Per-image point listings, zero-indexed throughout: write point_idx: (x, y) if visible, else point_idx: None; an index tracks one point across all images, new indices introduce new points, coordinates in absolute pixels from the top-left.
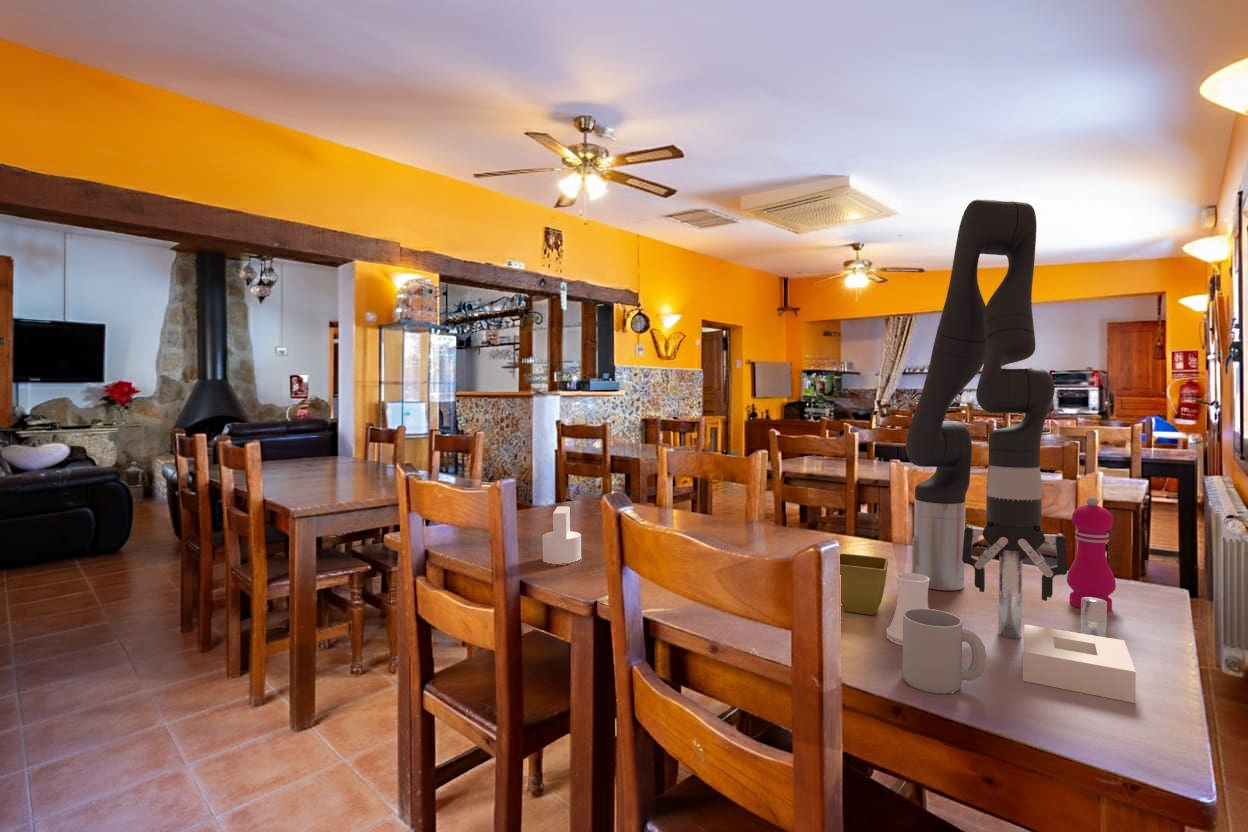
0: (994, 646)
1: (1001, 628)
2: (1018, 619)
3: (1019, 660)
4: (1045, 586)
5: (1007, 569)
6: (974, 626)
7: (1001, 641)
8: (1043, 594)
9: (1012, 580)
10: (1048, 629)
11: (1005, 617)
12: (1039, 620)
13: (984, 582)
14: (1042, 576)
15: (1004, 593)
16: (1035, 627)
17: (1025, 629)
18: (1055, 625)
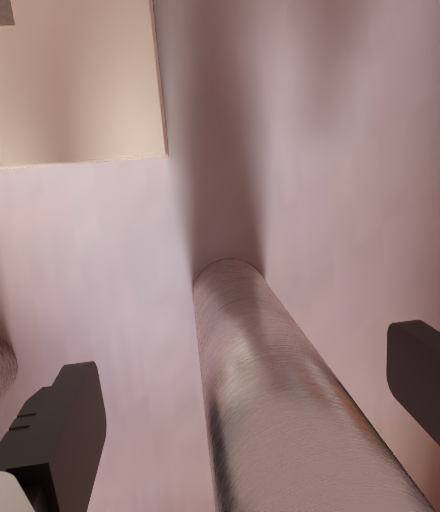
0: (262, 138)
1: (258, 273)
2: (204, 297)
3: (168, 32)
4: (47, 414)
5: (337, 429)
6: (341, 313)
7: (246, 210)
8: (76, 375)
9: (268, 374)
10: (55, 139)
11: (254, 282)
12: (162, 503)
13: (418, 380)
14: (51, 489)
15: (289, 327)
16: (113, 136)
17: (149, 68)
18: (112, 486)
